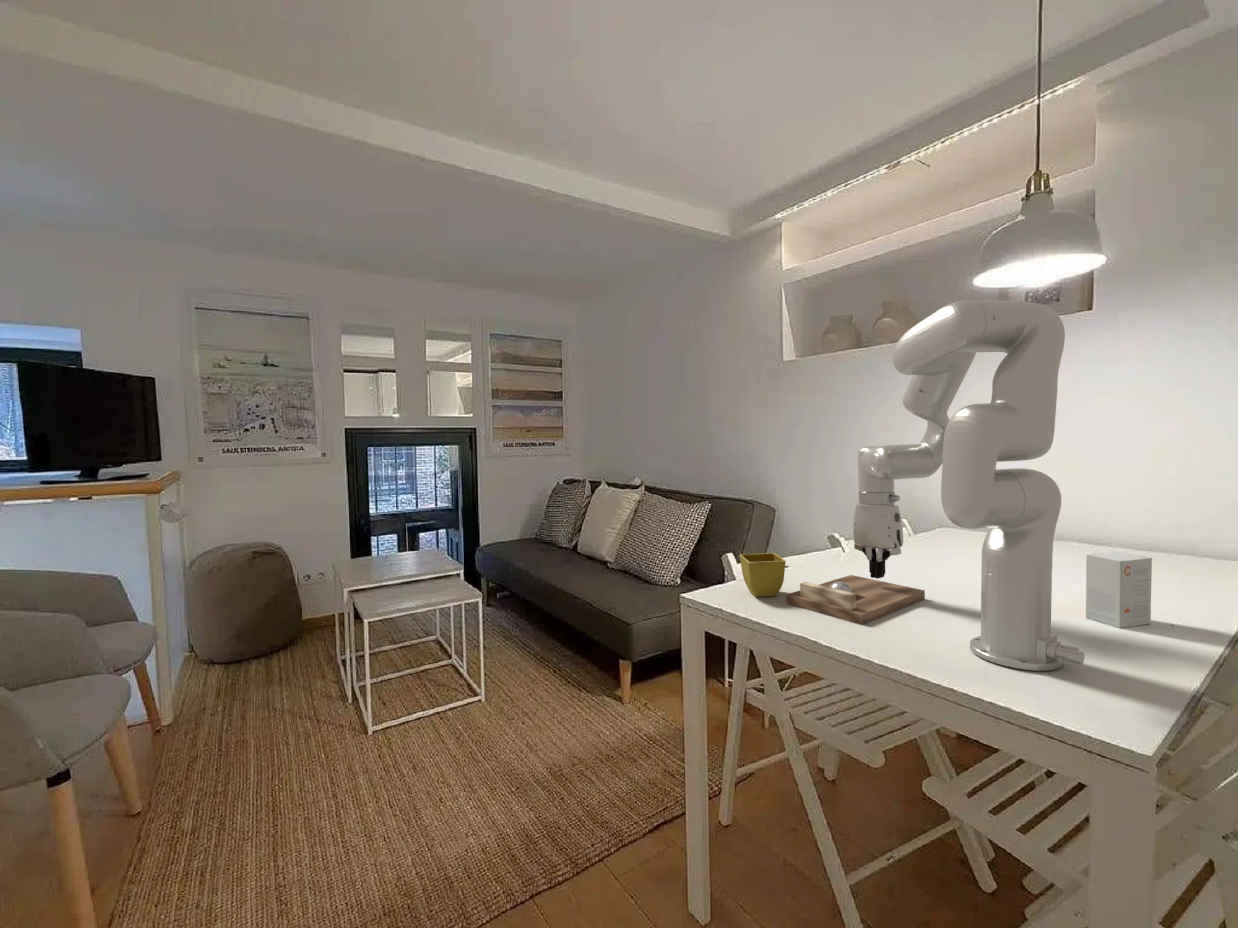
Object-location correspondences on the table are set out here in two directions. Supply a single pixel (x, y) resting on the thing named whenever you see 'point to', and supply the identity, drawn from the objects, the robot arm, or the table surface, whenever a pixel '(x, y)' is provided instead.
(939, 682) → the table surface
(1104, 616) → the small box
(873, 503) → the robot arm
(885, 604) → the walnut board
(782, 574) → the flower pot
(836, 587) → the steel ball
